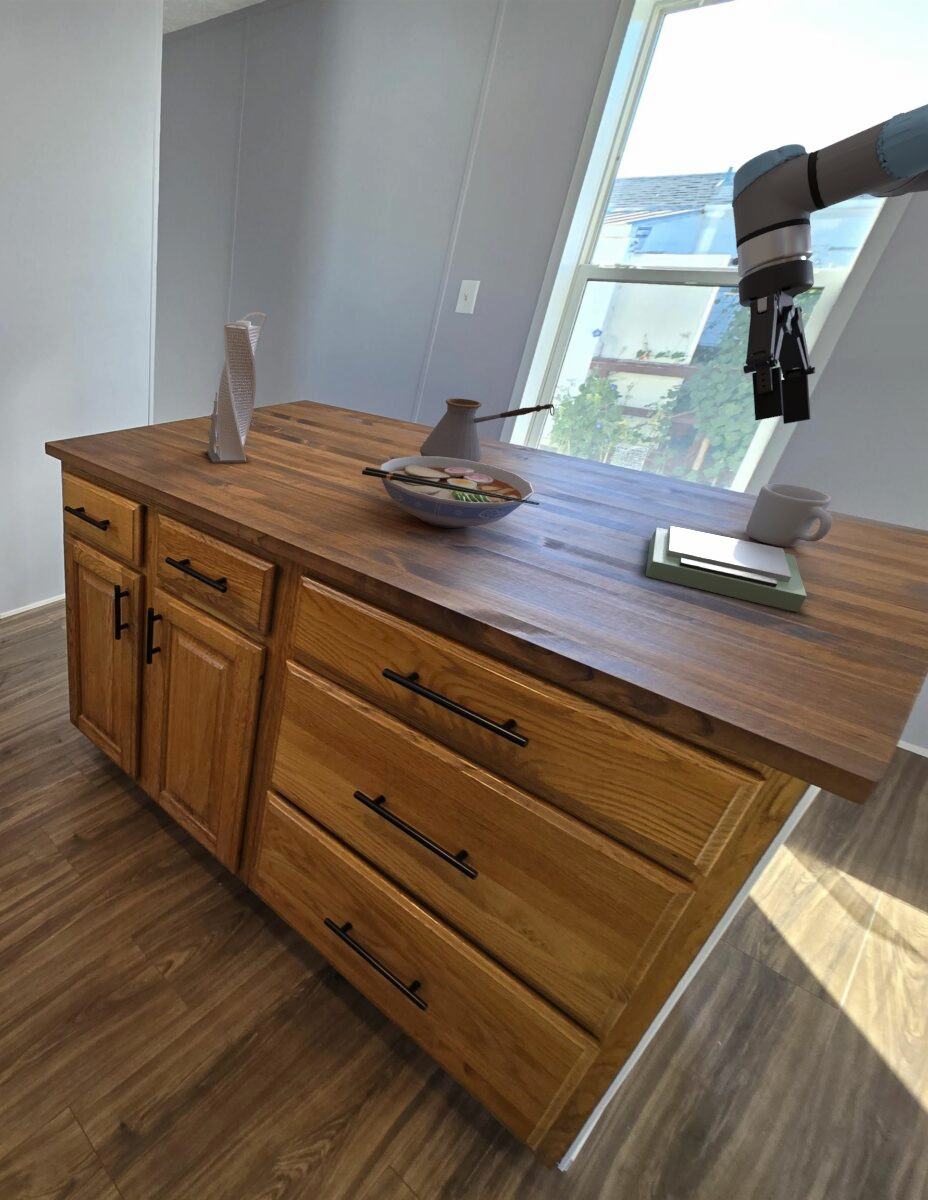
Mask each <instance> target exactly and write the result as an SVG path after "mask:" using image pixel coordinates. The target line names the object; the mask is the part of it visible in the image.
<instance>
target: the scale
mask: <svg viewBox="0 0 928 1200" xmlns="http://www.w3.org/2000/svg"><path fill="white" fill-rule="evenodd" d="M646 563H647V564H646V570H645V577H647V578H652V579H656V580H659V581H665V582H668V583H671V584H672V583H673V584H676V585H681V586H685V587H689V588H694V589H697V590H702V591H706V592H711V593H715V594H718V595H722V596H727V597H731V598H735V599H740V600H744V601H747V602H751V603H756V604H760V605H765V606H769V607H773V608H777V609H782V610H785V611H789V612H794V613H798V612H799V611H800V608H801V607H802V605H803V604H804V602H805V600H806V599H807V598H808V595H807V592H806V589H805V585H804V583H803V580H802V576H801V574H800V571H799V568H798V564H797V561H796V558H795V555H793V554H788V553H785V551H784V548H782V547H778V546H773V545H768V544H761V543H758V542H757V543H756V542H751V541H747V540H742V539H738V538H737V539H736V538H731V537H727V536H724V535H723V536H721V535H717V534H713V533H707V532H702V531H697V530H693V529H688V528H682V527H677V526H673V525H670V526H669V528H668V529H665V528H661V527H655V529H654V532H653V534H652V537H651V539H650V542H649V548H648V554H647V562H646Z"/></svg>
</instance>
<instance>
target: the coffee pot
mask: <svg viewBox="0 0 928 1200" xmlns="http://www.w3.org/2000/svg"><path fill="white" fill-rule="evenodd" d="M445 403H446V407H447V409H446V412H445V413H444V415H443V416H442V417H441V419H440V420H439V422H438V423H437V424H436V425H435V427H434V428H433V429H432V431H431V432H430V434H429V435H428V436H427V438H426V439H425V441H424V442H423V443H422V445H421V446H420V448H419V450H420V451H419V452H420V456H435V457H447V458H455V459H464V460H470V461H474V462H479V461H481V460H482V457H483V454H482V447H481V441H480V436H479V429H478V423H483V422H488V421H492V420H497V419H504V418H511V417H519V416H524V415H525V416H526V415H528V414H531V413H534V412H537V413H540V412H541V411H542V410H549V415H550V416H552V417H553V416H554V415H555V409H556V408H555V406H554V404H553V403H548V404H544V405H540V404H537V405H535V406H530V407H521V408H517V409H513V410H509V411H504V412H501V413H496V414H492V415H486V416H480V417H476V414H477V412H478V410H479V408H481V407H482V406H483V404H482V403H481V402H480V401H477V400H473V399H467V398H457V397H456V398H448V399H446V400H445Z"/></svg>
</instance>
